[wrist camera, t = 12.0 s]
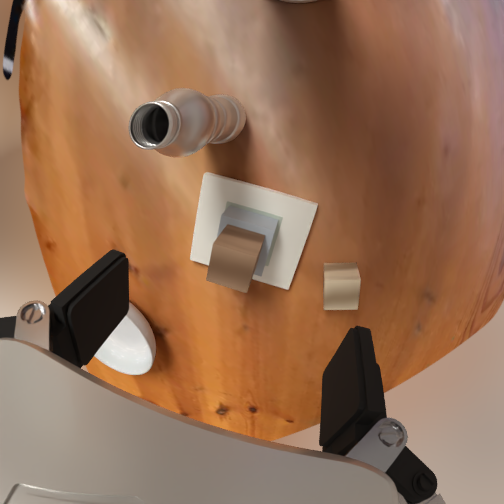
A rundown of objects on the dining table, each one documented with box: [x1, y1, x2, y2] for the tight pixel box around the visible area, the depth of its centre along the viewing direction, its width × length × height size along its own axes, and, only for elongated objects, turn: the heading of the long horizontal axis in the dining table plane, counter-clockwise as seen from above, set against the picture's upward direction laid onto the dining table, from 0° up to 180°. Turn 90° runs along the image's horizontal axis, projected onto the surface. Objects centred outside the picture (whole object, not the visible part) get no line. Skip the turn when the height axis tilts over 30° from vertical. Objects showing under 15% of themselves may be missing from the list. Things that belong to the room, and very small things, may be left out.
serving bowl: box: [94, 302, 156, 375], centre depth 54 cm, size 21×21×7 cm
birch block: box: [323, 263, 361, 310], centre depth 41 cm, size 5×5×5 cm
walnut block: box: [206, 224, 265, 293], centre depth 35 cm, size 5×5×6 cm
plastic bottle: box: [129, 88, 246, 157], centre depth 27 cm, size 6×7×20 cm
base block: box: [217, 206, 278, 276], centre depth 40 cm, size 7×7×4 cm
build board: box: [190, 172, 318, 290], centre depth 42 cm, size 14×16×1 cm
